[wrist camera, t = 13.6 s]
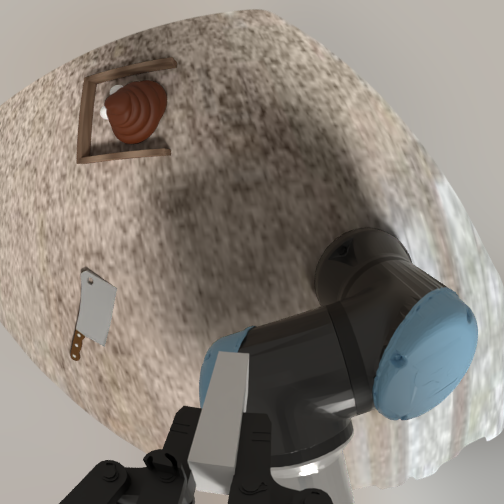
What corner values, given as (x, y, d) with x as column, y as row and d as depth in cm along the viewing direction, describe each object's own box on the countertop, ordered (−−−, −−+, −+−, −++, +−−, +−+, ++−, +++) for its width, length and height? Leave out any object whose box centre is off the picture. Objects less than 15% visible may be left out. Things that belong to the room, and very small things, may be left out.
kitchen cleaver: (98, 377, 48) (62, 352, 46) (100, 374, 49) (64, 349, 47) (129, 295, 42) (83, 264, 41) (131, 293, 43) (86, 262, 42)
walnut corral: (177, 63, 32) (171, 57, 30) (170, 155, 36) (164, 154, 33) (92, 81, 33) (84, 77, 30) (85, 163, 37) (76, 163, 34)
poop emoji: (148, 152, 36) (116, 147, 27) (107, 134, 35) (70, 127, 26) (180, 92, 33) (155, 70, 24) (135, 77, 33) (105, 57, 24)
